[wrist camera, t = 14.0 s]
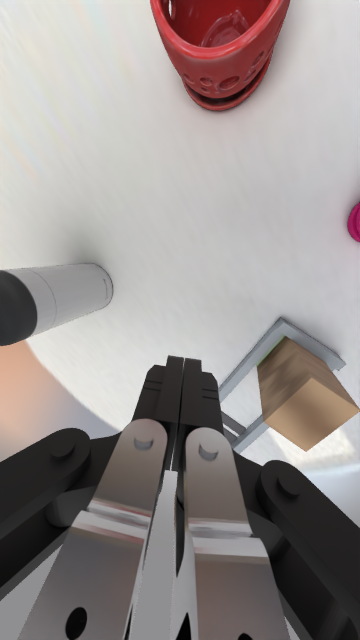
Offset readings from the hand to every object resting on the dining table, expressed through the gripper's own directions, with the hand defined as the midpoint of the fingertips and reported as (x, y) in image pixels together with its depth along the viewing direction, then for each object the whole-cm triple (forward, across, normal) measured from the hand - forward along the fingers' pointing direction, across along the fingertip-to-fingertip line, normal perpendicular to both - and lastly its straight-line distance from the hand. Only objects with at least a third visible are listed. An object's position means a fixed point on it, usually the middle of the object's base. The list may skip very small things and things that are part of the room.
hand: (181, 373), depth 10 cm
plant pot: (+33, -1, -26) cm, 42 cm away
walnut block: (+25, -18, +13) cm, 34 cm away
